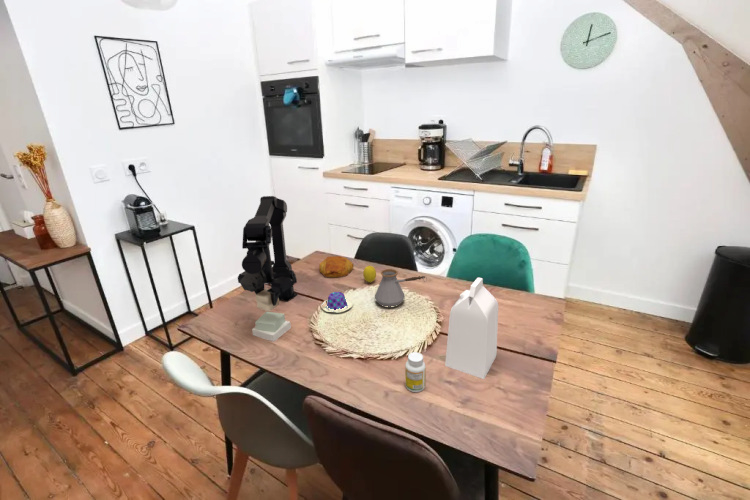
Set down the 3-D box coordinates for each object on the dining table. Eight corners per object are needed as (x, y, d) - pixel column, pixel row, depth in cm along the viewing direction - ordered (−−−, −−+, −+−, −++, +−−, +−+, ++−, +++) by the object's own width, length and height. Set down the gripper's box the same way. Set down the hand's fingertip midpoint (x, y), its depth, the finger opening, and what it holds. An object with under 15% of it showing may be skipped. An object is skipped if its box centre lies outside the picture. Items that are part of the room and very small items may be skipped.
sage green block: (267, 318, 134) (266, 311, 133) (285, 321, 133) (284, 313, 132) (256, 329, 128) (255, 322, 127) (275, 332, 126) (274, 324, 125)
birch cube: (268, 301, 131) (266, 288, 129) (279, 304, 129) (277, 291, 127) (257, 308, 127) (255, 294, 125) (269, 311, 124) (267, 297, 123)
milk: (484, 379, 106) (491, 296, 96) (445, 365, 112) (448, 286, 102) (496, 355, 115) (504, 277, 106) (459, 344, 121) (464, 269, 112)
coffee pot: (368, 304, 146) (367, 269, 141) (385, 292, 155) (385, 258, 150) (417, 321, 135) (418, 283, 129) (433, 307, 143) (434, 270, 138)
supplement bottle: (417, 395, 101) (418, 366, 97) (401, 387, 104) (401, 357, 101) (428, 384, 105) (429, 355, 101) (412, 376, 108) (413, 348, 104)
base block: (271, 323, 137) (270, 316, 136) (291, 329, 133) (290, 321, 132) (253, 336, 130) (251, 329, 129) (274, 343, 126) (272, 335, 125)
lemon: (378, 280, 166) (377, 263, 163) (373, 286, 161) (373, 268, 158) (366, 279, 168) (365, 262, 165) (361, 284, 163) (360, 267, 160)
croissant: (324, 269, 184) (320, 254, 181) (355, 266, 181) (352, 250, 179) (316, 282, 170) (312, 265, 168) (350, 278, 168) (346, 262, 165)
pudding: (315, 307, 146) (313, 295, 144) (338, 296, 154) (337, 284, 152) (335, 318, 138) (334, 306, 136) (359, 306, 146) (358, 293, 145)
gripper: (220, 265, 119) (229, 309, 125) (266, 275, 111) (273, 321, 117) (247, 252, 128) (253, 294, 134) (291, 261, 120) (296, 305, 126)
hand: (268, 303), depth 127 cm, fingers closed on birch cube, 5 cm apart
